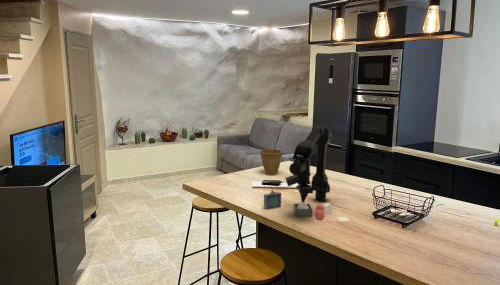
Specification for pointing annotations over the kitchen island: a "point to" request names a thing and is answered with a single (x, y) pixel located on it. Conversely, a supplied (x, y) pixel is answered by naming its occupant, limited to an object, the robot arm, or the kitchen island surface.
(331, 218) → the board
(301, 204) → the dome
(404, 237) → the kitchen island surface
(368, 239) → the kitchen island surface
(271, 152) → the plant pot
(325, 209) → the beige cube
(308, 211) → the button housing
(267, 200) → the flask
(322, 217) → the pawn
